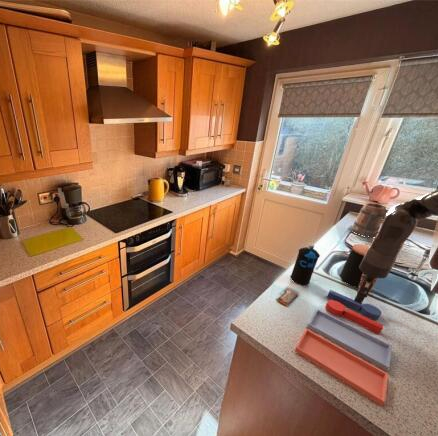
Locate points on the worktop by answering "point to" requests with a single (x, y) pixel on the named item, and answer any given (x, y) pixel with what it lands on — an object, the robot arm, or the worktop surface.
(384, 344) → the blue tray
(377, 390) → the red tray
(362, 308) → the blue spoon
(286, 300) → the chocolate bar
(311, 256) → the aerosol can
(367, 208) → the tankard
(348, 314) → the red spoon
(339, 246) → the worktop surface
